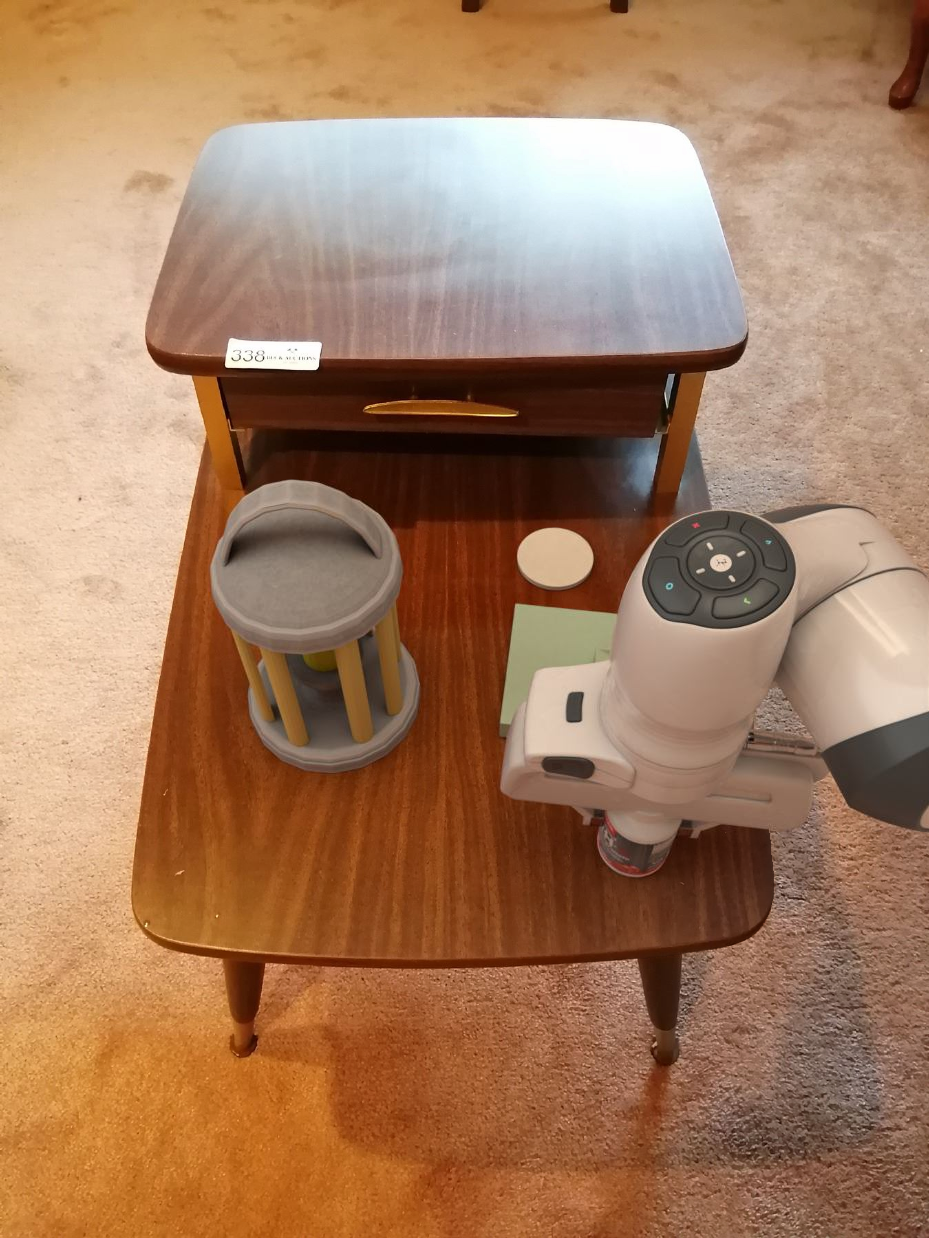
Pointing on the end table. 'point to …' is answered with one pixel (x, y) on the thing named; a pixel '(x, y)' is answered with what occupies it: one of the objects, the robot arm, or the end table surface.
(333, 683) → the lantern
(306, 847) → the end table surface
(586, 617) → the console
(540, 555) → the coaster
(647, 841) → the pill bottle
